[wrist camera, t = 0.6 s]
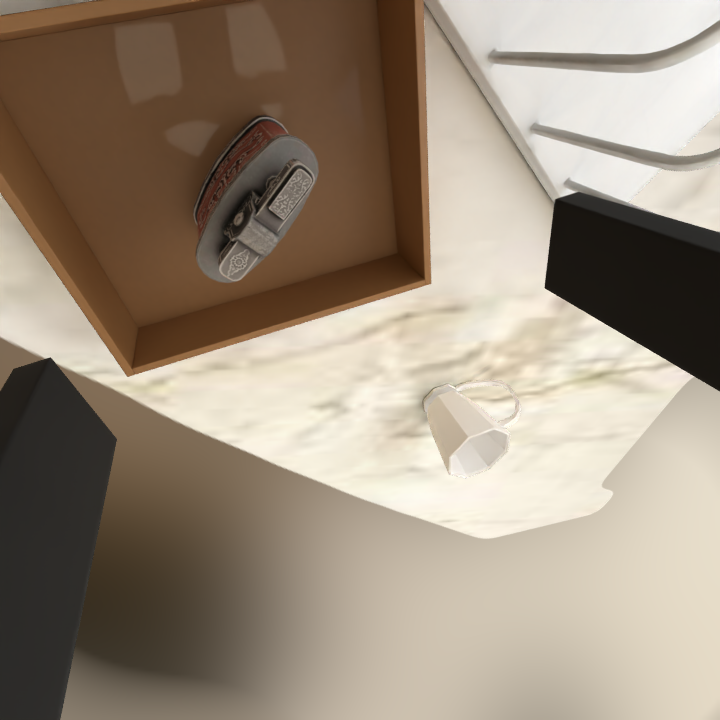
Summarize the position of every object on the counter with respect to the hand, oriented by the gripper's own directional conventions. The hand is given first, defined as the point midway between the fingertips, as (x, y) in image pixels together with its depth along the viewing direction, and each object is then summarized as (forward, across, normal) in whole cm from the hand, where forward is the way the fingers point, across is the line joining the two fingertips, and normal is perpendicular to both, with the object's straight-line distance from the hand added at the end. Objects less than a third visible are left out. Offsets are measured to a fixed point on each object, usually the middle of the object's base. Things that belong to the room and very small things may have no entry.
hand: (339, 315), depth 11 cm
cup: (+21, +14, -26) cm, 36 cm away
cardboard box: (+19, -1, 0) cm, 19 cm away
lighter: (+19, -1, 0) cm, 19 cm away
